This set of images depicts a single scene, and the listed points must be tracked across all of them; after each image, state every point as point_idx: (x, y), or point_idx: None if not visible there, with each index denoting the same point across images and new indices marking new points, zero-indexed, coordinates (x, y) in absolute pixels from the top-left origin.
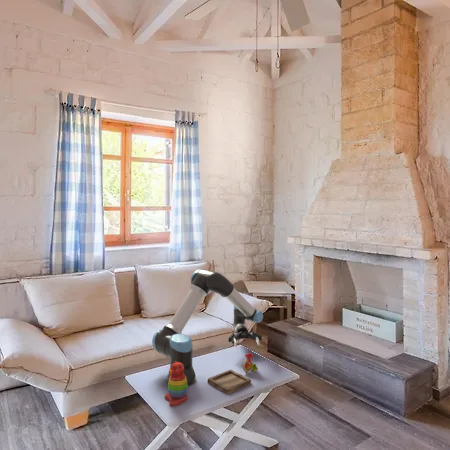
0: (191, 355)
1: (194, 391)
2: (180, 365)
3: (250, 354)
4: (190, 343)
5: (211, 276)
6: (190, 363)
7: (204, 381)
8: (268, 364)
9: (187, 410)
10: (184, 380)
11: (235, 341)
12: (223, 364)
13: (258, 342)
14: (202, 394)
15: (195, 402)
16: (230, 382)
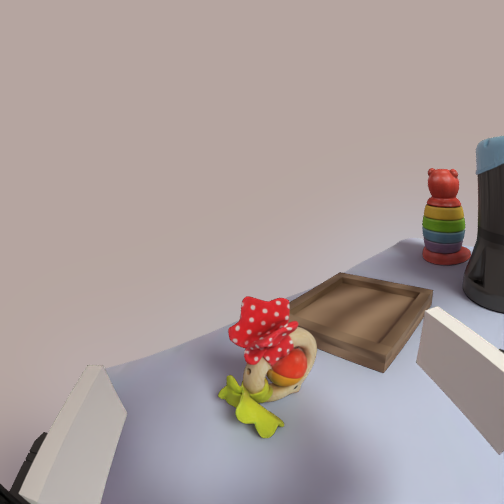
0: (482, 197)
1: (433, 275)
2: (429, 169)
3: (254, 303)
4: (478, 149)
5: None
6: (479, 223)
7: (446, 306)
8: (124, 485)
9: (400, 248)
10: (425, 207)
11: (451, 323)
12: (469, 441)
13: (107, 380)
14: (406, 274)
15: (402, 259)
16: (350, 306)
